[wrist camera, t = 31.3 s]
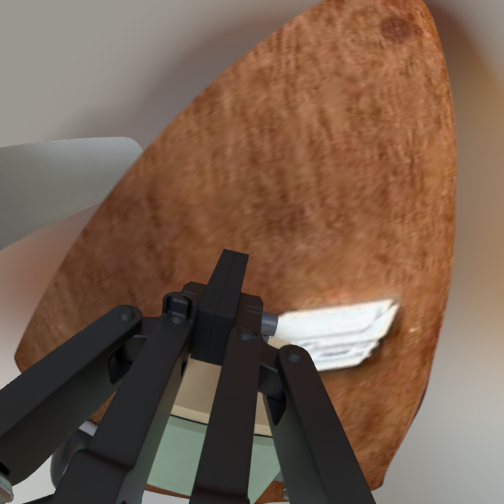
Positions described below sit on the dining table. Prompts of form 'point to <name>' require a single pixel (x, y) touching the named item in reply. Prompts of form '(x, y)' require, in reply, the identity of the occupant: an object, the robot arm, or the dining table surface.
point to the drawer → (206, 379)
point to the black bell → (70, 450)
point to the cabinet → (188, 454)
